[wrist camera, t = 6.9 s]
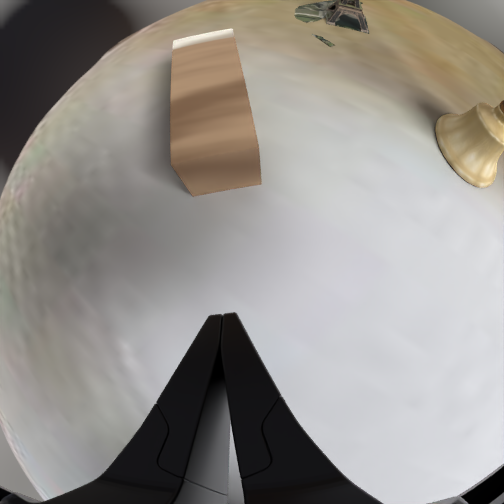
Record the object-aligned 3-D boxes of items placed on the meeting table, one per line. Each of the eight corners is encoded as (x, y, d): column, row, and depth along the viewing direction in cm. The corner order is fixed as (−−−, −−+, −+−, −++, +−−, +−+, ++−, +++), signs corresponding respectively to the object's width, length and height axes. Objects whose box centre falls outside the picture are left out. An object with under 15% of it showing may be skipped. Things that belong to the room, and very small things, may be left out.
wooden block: (258, 147, 14) (232, 28, 17) (170, 164, 14) (173, 41, 17) (261, 184, 19) (238, 67, 22) (193, 196, 19) (186, 77, 22)
